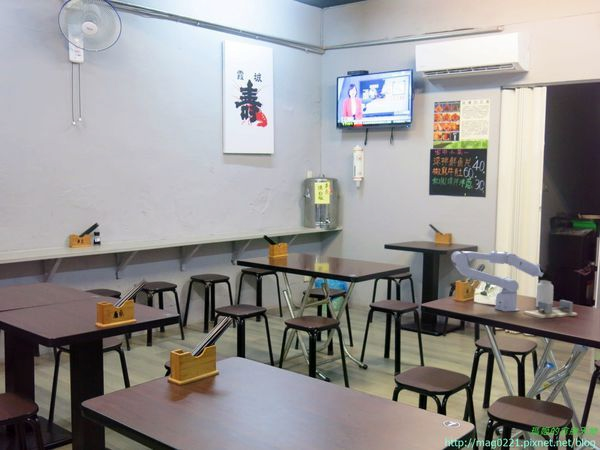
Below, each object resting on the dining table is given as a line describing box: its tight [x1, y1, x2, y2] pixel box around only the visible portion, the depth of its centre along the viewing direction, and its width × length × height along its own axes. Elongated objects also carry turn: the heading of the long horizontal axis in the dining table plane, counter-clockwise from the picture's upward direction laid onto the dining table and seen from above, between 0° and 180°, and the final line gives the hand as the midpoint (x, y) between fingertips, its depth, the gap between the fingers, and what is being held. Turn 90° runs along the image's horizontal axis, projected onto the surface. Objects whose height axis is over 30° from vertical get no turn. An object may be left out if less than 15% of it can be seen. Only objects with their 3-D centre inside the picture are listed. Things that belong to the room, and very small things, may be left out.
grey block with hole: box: [537, 301, 553, 314], centre depth 299 cm, size 3×6×5 cm, turn 22°
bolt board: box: [523, 299, 578, 319], centre depth 300 cm, size 23×11×6 cm, turn 112°
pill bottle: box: [535, 280, 554, 308], centre depth 317 cm, size 8×8×15 cm
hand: (551, 278), depth 308 cm, fingers open, 7 cm apart
